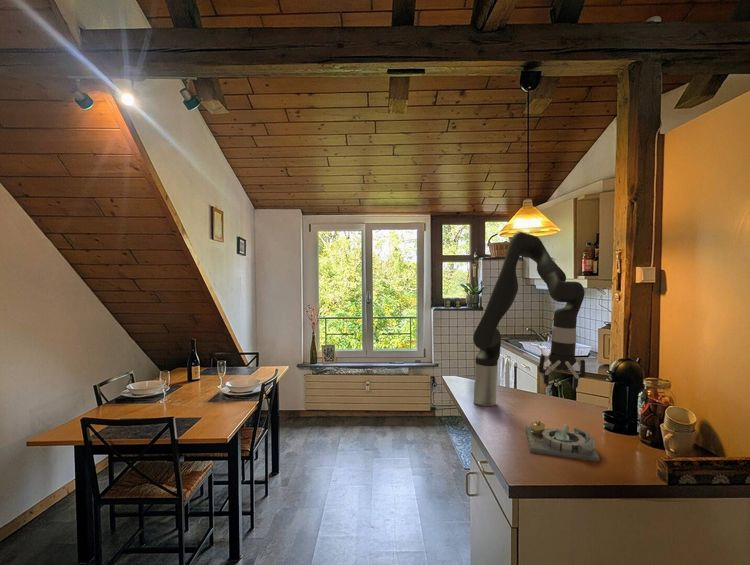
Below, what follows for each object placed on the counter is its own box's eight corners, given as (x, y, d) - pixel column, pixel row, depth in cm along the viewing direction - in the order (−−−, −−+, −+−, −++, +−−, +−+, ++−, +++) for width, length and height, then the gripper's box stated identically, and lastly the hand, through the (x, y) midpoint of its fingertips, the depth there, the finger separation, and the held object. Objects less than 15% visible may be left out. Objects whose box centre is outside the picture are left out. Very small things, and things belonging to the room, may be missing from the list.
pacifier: (555, 446, 134) (574, 447, 133) (555, 427, 134) (574, 428, 133) (548, 437, 141) (566, 437, 141) (548, 419, 141) (566, 419, 140)
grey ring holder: (530, 452, 132) (530, 435, 132) (525, 430, 150) (526, 415, 150) (599, 462, 127) (600, 445, 126) (586, 438, 144) (587, 422, 144)
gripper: (542, 340, 138) (538, 387, 139) (589, 344, 134) (585, 393, 135) (540, 336, 145) (537, 381, 146) (584, 340, 141) (581, 386, 142)
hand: (560, 386), depth 140 cm, fingers open, 8 cm apart
